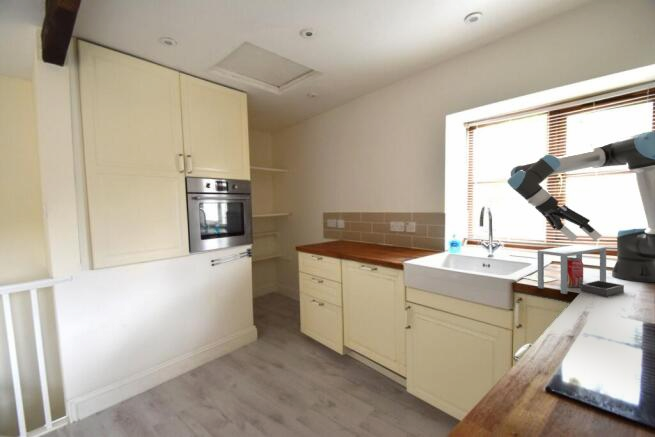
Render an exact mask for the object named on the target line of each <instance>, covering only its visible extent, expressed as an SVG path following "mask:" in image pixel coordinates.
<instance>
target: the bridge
mask: <svg viewBox="0 0 655 437" xmlns="http://www.w3.org/2000/svg"><path fill="white" fill-rule="evenodd" d="M598 252H599V281H604V282H607V246H596V245H586V244H575V245H568V246H567V245H565V246H560V247H553V248H545V249H538V250H537V275H538V281H537V289H545V283H544V277H545V275H544V274H545V271H544V270H545V262H544V261H545V259H544V257H545V255H550V256H557V257H558V256H559V257H560V294H564V295H567V294H568V286H567V257H573V256H575V258H580V259H581V261H582V262H583V255H585V254H590V253H591V254H592V253H598Z"/></svg>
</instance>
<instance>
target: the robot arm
mask: <svg viewBox="0 0 655 437" xmlns="http://www.w3.org/2000/svg"><path fill="white" fill-rule="evenodd" d="M615 166H627V171H630V172H633V173H634V176H635V179H636V183H637V188H638V190H639V194H640V197H641V198H640V199H641V202H642V206H643V210H644V214H645V217H646V221H647V225H648V227H646V228H624V229H619V230H618V232H617V236H616V244H617V245H616V247H617V248H616V249H617V256H616V258H617V260H616V262H615V263H614V266H613V269H612V271H611V276H612V277H613V278H617V279H621V280H626V281H634V282H640V283H641V282H643V283H655V130H653V131H646V132H642V133H639V134H635V135H632V136H628V137H623V138H619V139H617V140H614V141H610V142H608V143H606V144H605V143H604V144H602V145H599V146H594V147H592V148H590V149H589V150H586V151H581V152H580V151H579V152H577V153H571V154H566V155H563V156H555V155H553V154H551V153H550V154H547V153H546V154H543V156H541V157H539V159H537V160H535V161H532V162H528V163H525V164H519V165H517V166H514V167H513V168H512V169H511V170H510V177H509V178H508V180H507V184H508V185H509V187H511V188H512V189H513V190H514V191H515V192H516V193H518V194H519V195H520V196H521V197H522V198H523V199H525V200H526V201H527V203H528V204H529V205H531V206H532V207H534V208H535V209H536V210H537V211H538V212H539V214H541V215H542V217H544V218H545V219H546V221H547V222H548V224H549V225H550V226H551V228H552V229H554V230H557V231H559V232H561V233H562V234H563V235H564V236H565V237H566V238H567V239H568V240H570V241H571V242H574V241H575V240H577V239H578V238H579V236H577V234H575V233H574V232H573V231H572V230H571V229H569V228H568V227H567V226H566V225H565V224H564V223H563V222H562V220H566V221H568V222H569V223H572V224H574V225H576V226H578V227H579V229H581V230H582V231H583V233H585V234H586V235H588V236H589V237H590V238H591V239H592V240H593V241H597V240H598V239H600V238H601V237H602V236H603V235H602V234H601V233H600V232H598V230H596V229H595V228H594V227H593V226H591V224H589V223H590V222H591V220H590V219H588V218H587V217H585V216H583V215H581V214H580V213H578V212H576V211H575V210H573V209H571V208H569V207H568V206H567V205H565V204H563V205H561V206H559V205H558V203H559V200H558V199H557V198H556V197H554V196H553V195H551V193H550V192H548V190H547V189H545V187H543V186H542V185H541V183H542V182H543V181H545V180H546V179H547V178H548V177H549V176H553V175H558V174H563V173H567V172H568V173H569V172H572V171H577V170H582V169H588V168H593V169H599V168H605V167H615Z"/></svg>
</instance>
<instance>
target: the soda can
mask: <svg viewBox="0 0 655 437" xmlns="http://www.w3.org/2000/svg"><path fill="white" fill-rule="evenodd" d="M581 284H584V263H583V260H582V261H581V259H580V258H576V257H573V256H567V288H568V287H569V288H576V287H578V288H581Z"/></svg>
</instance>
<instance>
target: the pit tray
mask: <svg viewBox="0 0 655 437" xmlns="http://www.w3.org/2000/svg"><path fill="white" fill-rule="evenodd" d="M624 288H625V285H624V284H621V283H620V284H619V283H614V282H608V281H606V282H604V281H600V280H593V281H589V282H585V283H584V282H583V284H581V287H580V292H581V291H582V293H585V292H586V294H590V295H595V296H600V297H603V298H604V297H605V298H609V296H610V297H613V296H617V295H621V294H624V293H625V289H624Z"/></svg>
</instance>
